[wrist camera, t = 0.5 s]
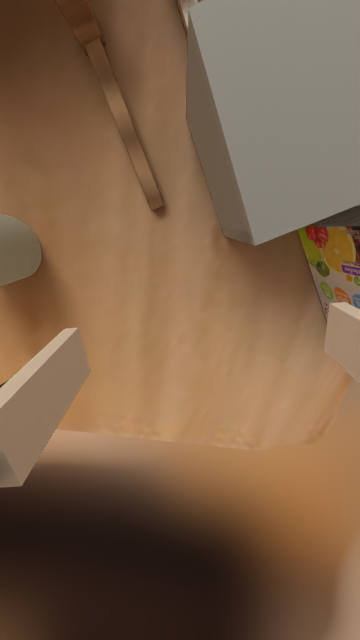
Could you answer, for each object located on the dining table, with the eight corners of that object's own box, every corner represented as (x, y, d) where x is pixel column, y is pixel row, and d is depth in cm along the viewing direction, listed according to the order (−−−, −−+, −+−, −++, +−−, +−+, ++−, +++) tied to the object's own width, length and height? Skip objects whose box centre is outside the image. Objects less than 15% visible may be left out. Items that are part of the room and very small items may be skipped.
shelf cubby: (185, 116, 31) (188, 8, 15) (357, 31, 28) (579, -213, 12) (224, 236, 36) (255, 245, 20) (373, 174, 33) (544, 130, 17)
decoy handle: (75, 28, 28) (37, -42, 21) (95, 17, 28) (62, -59, 20) (150, 211, 35) (141, 208, 27) (166, 204, 34) (162, 199, 27)
